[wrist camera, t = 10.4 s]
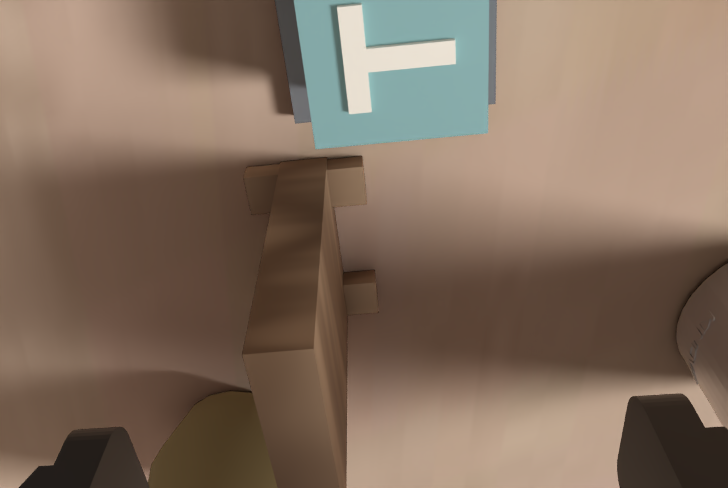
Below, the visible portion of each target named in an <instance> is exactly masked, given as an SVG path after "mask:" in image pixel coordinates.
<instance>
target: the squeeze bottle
mask: <svg viewBox="0 0 728 488" xmlns="http://www.w3.org/2000/svg"><path fill="white" fill-rule="evenodd" d="M148 485H149V488H277V484H276V480H275V476H274V473H273V469H272V465H271V461H270V458H269V454H268V450H267V446H266V443H265V439H264V435H263V431H262V428H261V424H260V420H259V416H258V413H257V409H256V405H255V401H254V398H253V394H252V393H248V392H235V391H228V392H223V393H219V394H214V395H210V396H208V397H206V398H205V399H203V400H202V401H200V402H198V403H197V404H195V405H194V406H193V408H192V409H191V410H190V411H189V413H188V414H187V415H186V417H185V418H184V419H183V420H182V422H181V423H180V424H179V426H178V427H177V428H176V430H175V431H174V432H173V433H172V435H171V436H170V437H169V439H168V440H167V441H166V442H165V444H164V445H163V446H162V448H161V450H160V451H159V453H158V455H157V456H156V458H155V459H154V461H153V463H152V464H151V469H150V474H149V480H148Z"/></svg>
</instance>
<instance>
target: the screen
mask: <svg viewBox="0 0 728 488" xmlns="http://www.w3.org/2000/svg"><path fill="white" fill-rule="evenodd" d="M243 179H244V184H245V188H246V193H247V197H248V202H249V206H250V211H251V215H256V214H267V213H270V217H269V222H268V227H267V232H266V237H265V242H264V247H263V252H262V257H261V262H260V267H259V272H258V277H257V282H256V287H255V292H254V297H253V302H252V307H251V312H250V317H249V322H248V327H247V332H246V337H245V342H244V347H243V352H242V357H243V360H244V364H245V368H246V372H247V375H248V379H249V383H250V387H251V390H252V394H253V398H254V401H255V405H256V409H257V413H258V416H259V420H260V424H261V428H262V431H263V435H264V439H265V443H266V446H267V450H268V454H269V458H270V461H271V465H272V469H273V473H274V476H275V480H276V484H277V488H346V465H347V335H348V315H356V314H368V313H379V311H378V296H377V287H376V278H375V270H368V271H357V272H346V273H343V267H342V260H341V253H340V246H339V239H338V232H337V224H336V217H335V210H334V207H342V206H353V205H364V204H367V200H366V186H365V177H364V168H363V159H362V156H358V157H348V158H337V159H327V157H325V158H315V159H304V160H294V161H284V162H280V164H274V165H264V166H254V167H246V170H245V174H244V177H243Z"/></svg>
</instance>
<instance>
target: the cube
mask: <svg viewBox="0 0 728 488" xmlns="http://www.w3.org/2000/svg"><path fill="white" fill-rule="evenodd" d="M294 6H295V12H296V19H297V26H298V33H299V40H300V46H301V53H302V60H303V67H304V74H305V80H306V87H307V94H308V101H309V108H310V114H311V121H312V128H313V135H314V142H315V148H316V149H323V148H334V147H345V146H355V145H366V144H377V143H388V142H398V141H409V140H420V139H430V138H441V137H452V136H463V135H473V134H484V133H488V73H489V0H294Z"/></svg>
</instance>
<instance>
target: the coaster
mask: <svg viewBox="0 0 728 488" xmlns="http://www.w3.org/2000/svg"><path fill="white" fill-rule="evenodd" d="M275 4H276V10H277V16H278V22H279V28H280V34H281V40H282V47H283V53H284V59H285V65H286V71H287V77H288V83H289V89H290V95H291V101H292V107H293V113H294V119H295V123H305V122H312V121H311V114H310V108H309V101H308V94H307V87H306V80H305V74H304V67H303V60H302V53H301V46H300V40H299V33H298V26H297V19H296V12H295V6H294V0H275ZM496 12H497V0H489V73H488V105H489V104H495V98H496Z"/></svg>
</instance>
